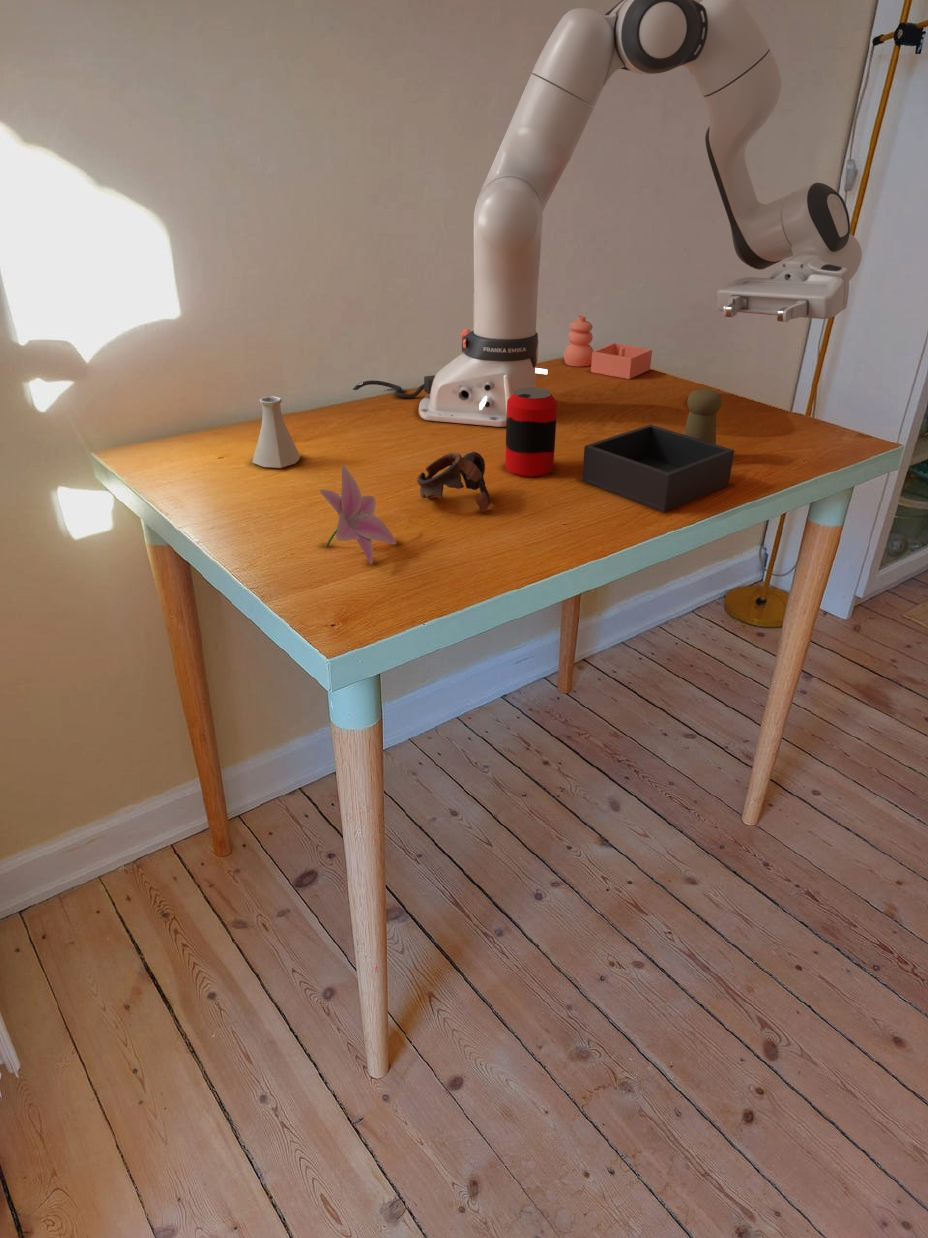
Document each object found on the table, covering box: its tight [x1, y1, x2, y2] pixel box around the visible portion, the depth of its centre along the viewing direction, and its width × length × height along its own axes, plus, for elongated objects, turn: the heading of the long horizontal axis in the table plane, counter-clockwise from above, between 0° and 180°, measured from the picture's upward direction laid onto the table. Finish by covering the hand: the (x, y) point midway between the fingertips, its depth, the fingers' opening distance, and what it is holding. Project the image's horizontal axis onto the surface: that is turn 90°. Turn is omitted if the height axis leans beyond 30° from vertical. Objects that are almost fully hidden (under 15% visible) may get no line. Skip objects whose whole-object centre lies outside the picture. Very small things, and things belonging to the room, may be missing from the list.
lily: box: [319, 464, 397, 565], centre depth 114 cm, size 12×12×10 cm
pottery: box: [563, 315, 653, 380], centre depth 191 cm, size 18×10×10 cm, turn 53°
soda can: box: [504, 387, 558, 478], centre depth 138 cm, size 8×8×12 cm
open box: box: [581, 424, 735, 513], centre depth 135 cm, size 16×16×6 cm
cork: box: [682, 388, 723, 445], centre depth 143 cm, size 6×6×11 cm
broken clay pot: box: [416, 451, 492, 514], centre depth 129 cm, size 12×10×8 cm
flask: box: [252, 395, 301, 469], centre depth 141 cm, size 7×7×10 cm
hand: (753, 314), depth 142 cm, fingers open, 8 cm apart
